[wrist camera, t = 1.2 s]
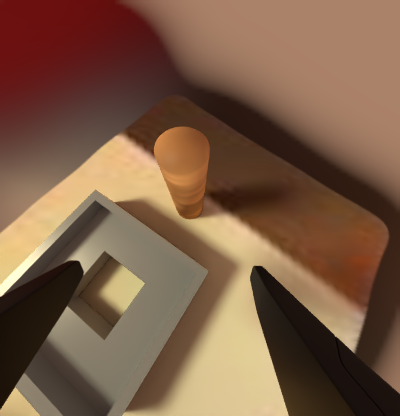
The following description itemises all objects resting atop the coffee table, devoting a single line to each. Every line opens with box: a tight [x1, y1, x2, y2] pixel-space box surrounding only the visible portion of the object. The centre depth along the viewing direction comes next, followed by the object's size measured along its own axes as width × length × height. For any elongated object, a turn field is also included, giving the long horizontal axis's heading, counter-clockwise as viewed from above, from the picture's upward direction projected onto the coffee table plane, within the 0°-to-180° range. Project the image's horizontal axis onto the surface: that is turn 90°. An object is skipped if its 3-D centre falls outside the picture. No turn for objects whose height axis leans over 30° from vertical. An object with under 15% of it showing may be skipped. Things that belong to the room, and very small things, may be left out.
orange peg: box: [154, 127, 210, 219], centre depth 17 cm, size 4×4×13 cm
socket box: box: [0, 190, 209, 416], centre depth 17 cm, size 17×17×4 cm
